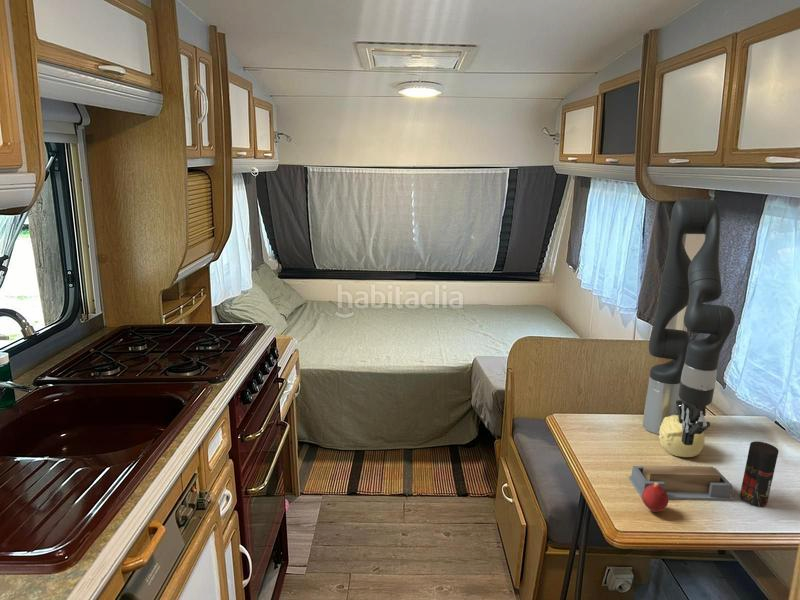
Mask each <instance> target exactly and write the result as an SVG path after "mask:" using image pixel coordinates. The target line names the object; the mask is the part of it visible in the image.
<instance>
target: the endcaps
mask: <svg viewBox="0 0 800 600" xmlns="http://www.w3.org/2000/svg"><path fill="white" fill-rule="evenodd" d="M643 468H644V465H632V468H631V475H630V476H629V475H628V476H627V477H628V478H629V479H628V480H629V481H630V483H631V484H632V486H633V487H634V489H635V491H636V492H637V493H638V495H639V496H640V498H641V499H642V493H643V491H644V489H645V488H646V487H647V486H649V485H653V484H654V482H657V483H658V484H659V485H660V486H661V487H662V488H663V489H664V487H665V483H664V482H659V481H647V480H646V479H645V477H644V476H643ZM713 468H714V469H715V470H716V471H717V472H718V473H719V474H720V475H721V477H720V482H719V483H710V487H709V492H683V491H666V493H667V495H668V500H688V501H689V500H690V501H692V500H693V501H697V500H698V501H729V502H731V501H732V502H733V501H734V498H733V497H732V495H731V494H732V489H733V484H732V483H731V482H730V481H729V480H728V479H727V478H726V477H725V475H724V474H722V472H720V471H719V470H718V468H716V467H713Z"/></svg>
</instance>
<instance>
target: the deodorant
mask: <svg viewBox="0 0 800 600" xmlns="http://www.w3.org/2000/svg"><path fill="white" fill-rule="evenodd" d="M778 456H779V448H777V446H775V445H773V444H770V443H767V442H764V441H757V440H755V441H751V442H750V444H749V449H748V453H747V458H746V463H745V468H744V473H743V478H742V483H741V487H740V492H739V498H740V500H741V501H743V502H744V503H745V504H747V505H749V506H751V507H752V506H753V507H755V508H764V507H767V506H768V501H769V496H770V492H771V487H772V484H773V480H774V473H775V471H776V470H775V469H776V464H777V460H778Z"/></svg>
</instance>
